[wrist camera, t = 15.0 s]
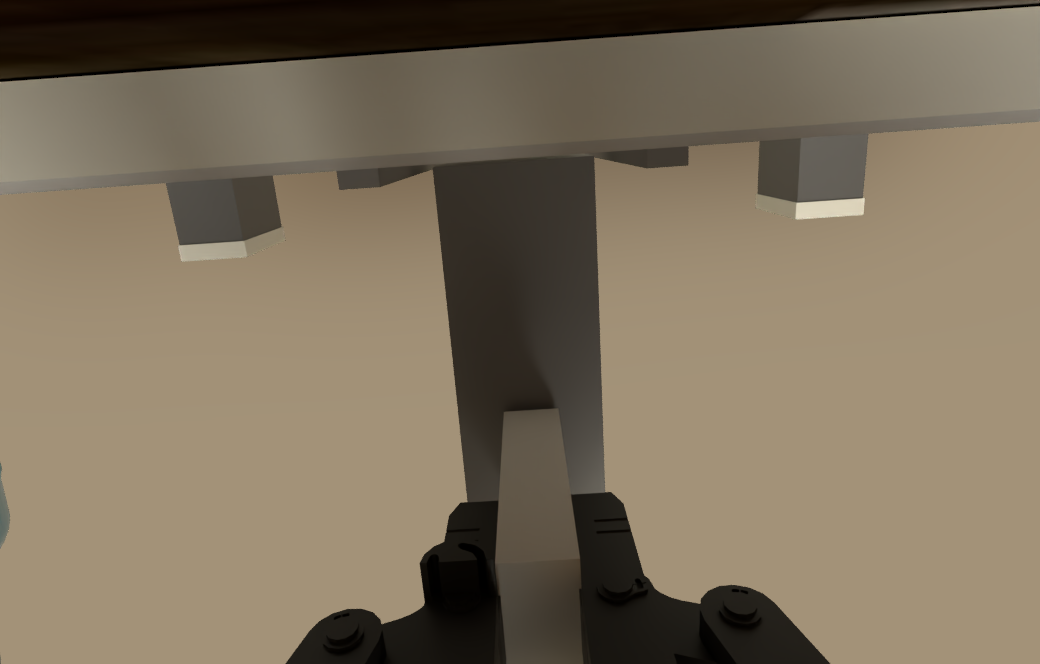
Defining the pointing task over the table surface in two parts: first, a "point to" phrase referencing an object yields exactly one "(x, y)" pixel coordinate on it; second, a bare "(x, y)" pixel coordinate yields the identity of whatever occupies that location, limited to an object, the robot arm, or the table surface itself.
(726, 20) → the table surface
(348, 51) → the table surface
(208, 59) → the table surface
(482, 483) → the handle
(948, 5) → the table surface
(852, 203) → the panel
